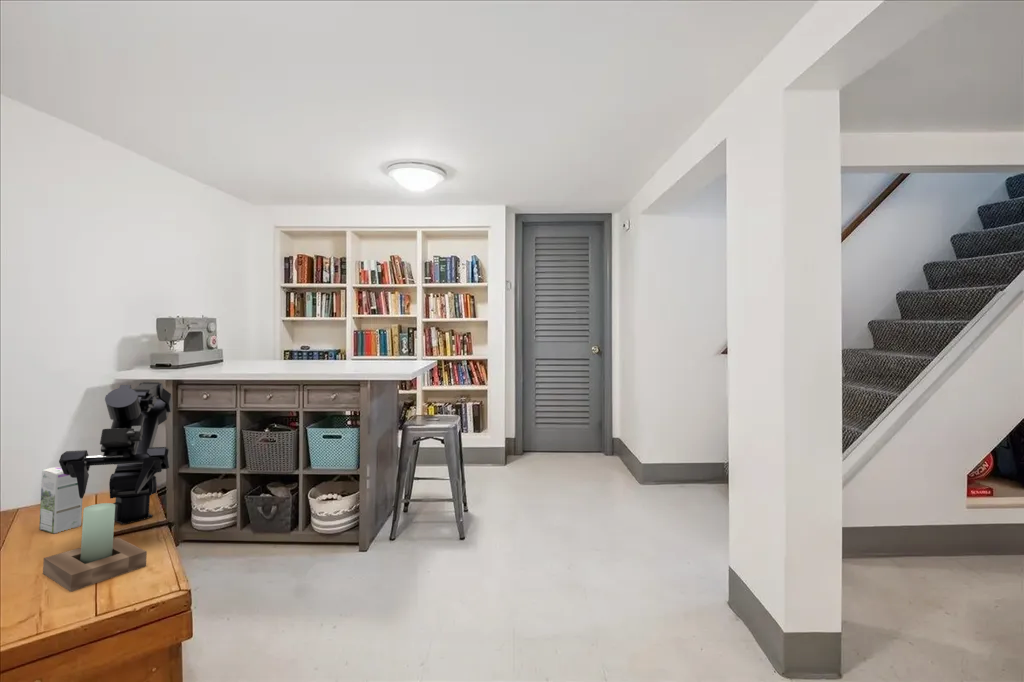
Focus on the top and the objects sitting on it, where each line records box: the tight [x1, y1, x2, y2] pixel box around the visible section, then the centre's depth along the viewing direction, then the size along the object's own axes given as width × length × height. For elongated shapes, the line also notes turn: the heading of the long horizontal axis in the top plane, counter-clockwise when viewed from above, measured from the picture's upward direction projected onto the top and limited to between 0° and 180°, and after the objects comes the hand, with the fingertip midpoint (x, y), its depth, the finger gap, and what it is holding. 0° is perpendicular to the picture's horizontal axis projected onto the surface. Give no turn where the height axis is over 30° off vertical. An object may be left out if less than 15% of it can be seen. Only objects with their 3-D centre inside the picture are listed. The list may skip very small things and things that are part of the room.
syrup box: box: [38, 465, 83, 534], centre depth 113 cm, size 6×6×14 cm
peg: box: [80, 502, 115, 564], centre depth 94 cm, size 5×5×12 cm
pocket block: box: [42, 536, 148, 593], centre depth 94 cm, size 12×12×4 cm
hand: (109, 495), depth 101 cm, fingers open, 9 cm apart
